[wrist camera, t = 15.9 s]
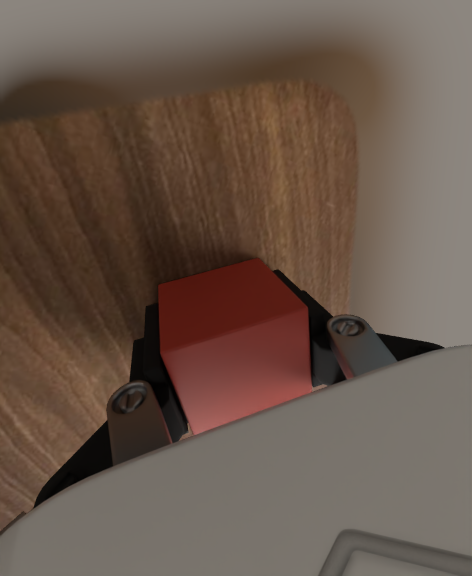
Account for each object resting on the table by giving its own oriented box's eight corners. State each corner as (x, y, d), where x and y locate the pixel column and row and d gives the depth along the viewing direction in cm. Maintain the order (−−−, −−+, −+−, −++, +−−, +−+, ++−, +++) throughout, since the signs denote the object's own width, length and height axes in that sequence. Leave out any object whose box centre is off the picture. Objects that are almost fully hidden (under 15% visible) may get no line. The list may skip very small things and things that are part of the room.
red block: (185, 362, 13) (198, 447, 9) (157, 284, 11) (159, 353, 7) (269, 335, 14) (313, 404, 10) (258, 256, 12) (309, 307, 8)
